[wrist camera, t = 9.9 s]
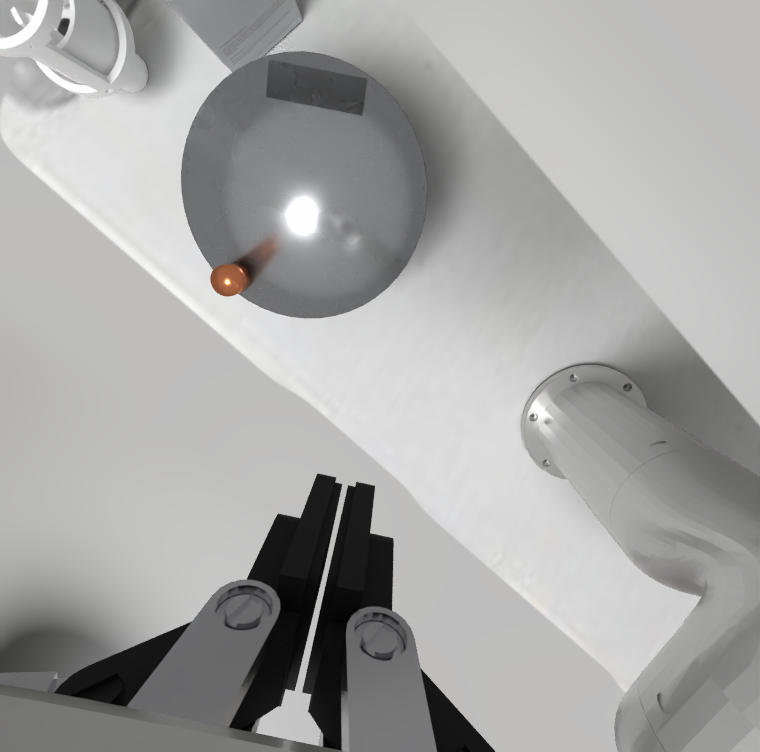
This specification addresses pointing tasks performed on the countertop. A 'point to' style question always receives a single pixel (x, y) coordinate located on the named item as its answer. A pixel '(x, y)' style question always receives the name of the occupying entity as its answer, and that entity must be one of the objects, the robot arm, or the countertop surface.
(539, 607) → the countertop surface
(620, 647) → the countertop surface
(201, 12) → the supplement box
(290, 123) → the lid
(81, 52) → the white caged cylinder
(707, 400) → the countertop surface
